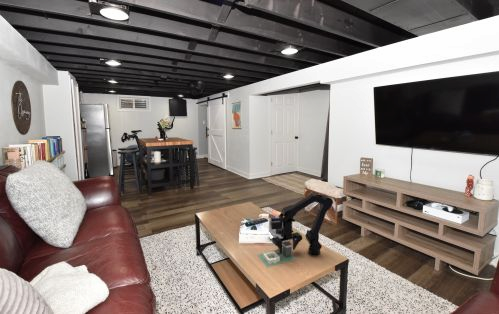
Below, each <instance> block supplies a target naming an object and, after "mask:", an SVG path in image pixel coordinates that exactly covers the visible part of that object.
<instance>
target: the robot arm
mask: <svg viewBox="0 0 499 314" xmlns="http://www.w3.org/2000/svg"><path fill="white" fill-rule="evenodd" d="M333 200H334V199H332V198H331V197H330V196H329V195H327V194H316V193H310V194H309V195H308V196H306V197H304V198H302V199H301V200H299V201H297V202H296V203H294V204H292V205H291V204H290V205H287V206H284V207H283V208H282V211H280V212H281V214H280V215H279V218H271V222H270V227H271V230H273V229H276V234H278V235H281V237H283V238H281V239H280V238H279V237H275V238H272V240H271V242H272V244H273V245H275V246H276V247H277V248H278V249H279V251H280V253H282V248H283V243H282V242H284V241H288V240H292V250H293V251H295V250H296V248H297V247H298V244H300V242H301V241H302V240H303V235H302V234H301V233H299V232H297V231H296V232H294V230H293V223H294V222H296V219H295V218H294V217H296V215H297V214H298V212H300V211H302V210H303V209H305V208H306V207H307V208H308V206H309V205H311V204H314V203H318V210H317V212H316V216H315V218H314V221H313V224H312V227H311V228H310V229H307V231H306V232H305V239H306V241H307V243H308V244H309V245H308V255H310V256H315V257H316V256H319V255H320V254H321V248H322V247H323V245H322V244H321V243H320V241H319V239H320V235H319V234H320V230H321V227H322V225H323V222H324V219H325V217H326V215H327V212H328V211H329V210H330V209H331V208H332V206H333V205H334V201H333ZM283 216H284V218H283ZM282 222H283V228H282Z"/></svg>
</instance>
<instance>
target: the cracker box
mask: <svg viewBox="0 0 499 314" xmlns="http://www.w3.org/2000/svg"><path fill="white" fill-rule="evenodd" d="M281 212H282V211H277V210H275V209H274V210H271V211H268V233H269V232H270V233H271V235H272V236H273V238H275V237H279V238H280V239H281V238H283V237H281V235H278V234H276V229H273V230H271V227H270V222H271V218H279V215H280V214H281ZM283 218H284V216H283ZM282 228H283V222H282ZM288 241H289V242H290V240H288ZM284 242H287V241H284ZM282 244H283V242H282Z"/></svg>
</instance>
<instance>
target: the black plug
mask: <svg viewBox="0 0 499 314" xmlns="http://www.w3.org/2000/svg"><path fill="white" fill-rule="evenodd" d="M282 245H283V246H282V248H283V255H284V256H285V257H286V258H287V257H290V256H292V255H293V254H292V252H293V251H292V250H293V243H291V242H290V241H287V242H283V243H282Z"/></svg>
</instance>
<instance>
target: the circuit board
mask: <svg viewBox="0 0 499 314" xmlns="http://www.w3.org/2000/svg"><path fill="white" fill-rule="evenodd" d="M257 257H258V258H259V259H260V261H261V262H262V263H263V264H264V265H265V267H266V268H270V267H274V266H277V265H280V264H284V263H289V262H292V261H295V260H297V258H296V257H295V256H294V255H293V254H292V256H290V257H287V258H286V257H285V256H284V255H283V247H282V253H280V251H279V248H278V249H275V250H271V251H268V252H263V253H259V254H257Z"/></svg>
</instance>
